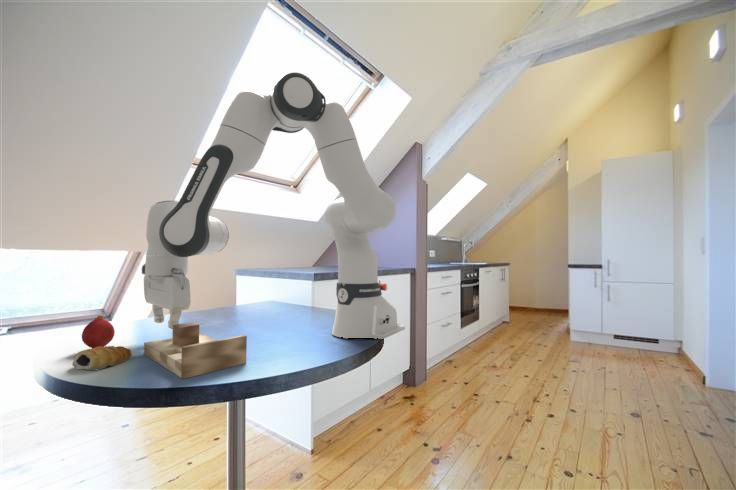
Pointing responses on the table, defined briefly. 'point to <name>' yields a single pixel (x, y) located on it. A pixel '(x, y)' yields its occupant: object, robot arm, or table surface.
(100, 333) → the onion
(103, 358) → the pastry
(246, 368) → the table surface
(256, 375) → the table surface
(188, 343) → the walnut block
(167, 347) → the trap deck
